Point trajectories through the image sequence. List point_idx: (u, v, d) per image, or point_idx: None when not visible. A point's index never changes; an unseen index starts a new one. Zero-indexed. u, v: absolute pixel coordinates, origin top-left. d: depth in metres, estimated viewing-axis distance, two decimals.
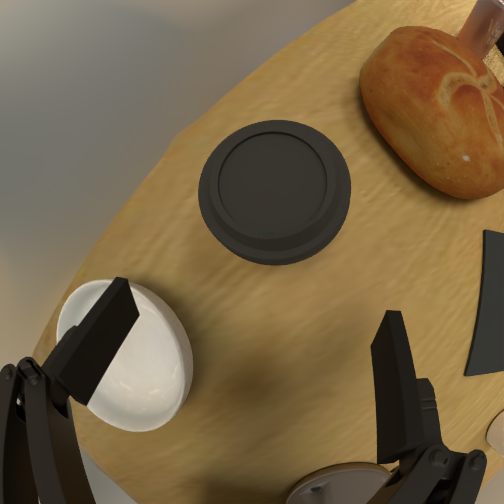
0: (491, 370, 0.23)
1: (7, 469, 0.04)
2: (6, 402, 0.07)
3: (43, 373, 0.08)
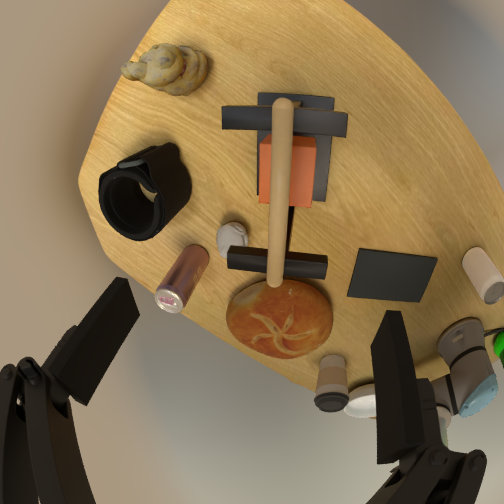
0: (425, 286, 0.52)
1: (7, 469, 0.04)
2: (6, 402, 0.07)
3: (43, 373, 0.08)
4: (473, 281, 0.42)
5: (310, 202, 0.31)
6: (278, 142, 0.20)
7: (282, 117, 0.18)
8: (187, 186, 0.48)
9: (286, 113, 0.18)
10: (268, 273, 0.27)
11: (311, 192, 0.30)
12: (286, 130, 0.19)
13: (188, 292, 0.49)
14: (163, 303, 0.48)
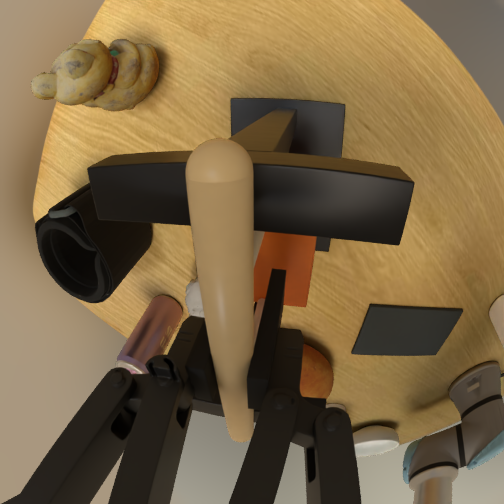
0: (444, 339, 0.40)
1: (69, 481, 0.05)
2: (102, 414, 0.07)
3: (180, 379, 0.09)
4: (501, 338, 0.29)
5: (304, 299, 0.18)
6: (211, 280, 0.07)
7: (212, 211, 0.06)
8: (144, 230, 0.36)
9: (224, 198, 0.06)
10: (229, 431, 0.14)
11: (307, 286, 0.18)
12: (229, 248, 0.07)
13: None
14: None
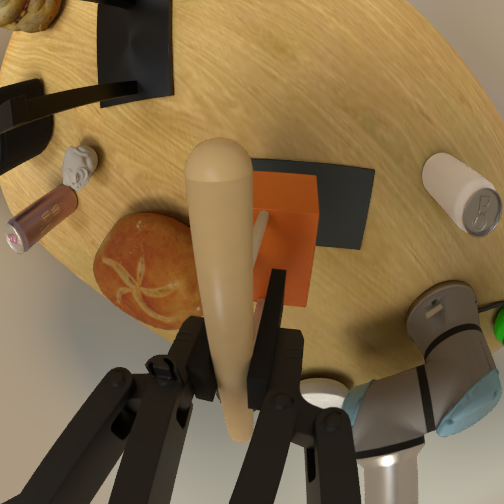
0: (363, 219, 0.36)
1: (69, 480, 0.05)
2: (102, 414, 0.07)
3: (180, 379, 0.09)
4: (441, 199, 0.26)
5: (304, 299, 0.18)
6: (210, 279, 0.07)
7: (212, 211, 0.06)
8: None
9: (224, 197, 0.06)
10: (228, 431, 0.14)
11: (307, 286, 0.18)
12: (228, 248, 0.07)
13: (31, 229, 0.32)
14: (12, 242, 0.32)
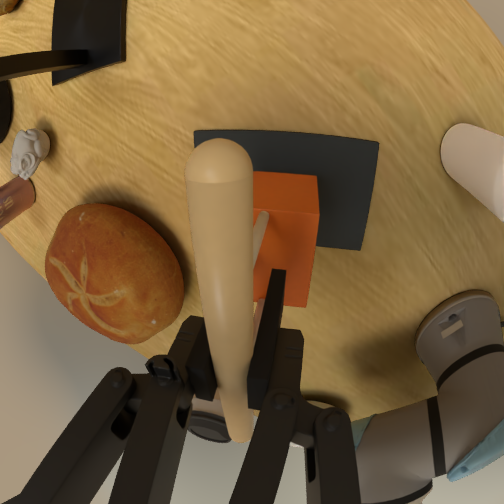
0: (365, 210, 0.27)
1: (69, 481, 0.05)
2: (103, 414, 0.07)
3: (180, 379, 0.09)
4: (471, 178, 0.16)
5: (304, 300, 0.18)
6: (210, 280, 0.07)
7: (212, 212, 0.06)
8: (2, 101, 0.23)
9: (224, 198, 0.06)
10: (229, 432, 0.14)
11: (307, 286, 0.18)
12: (228, 249, 0.07)
13: None
14: None
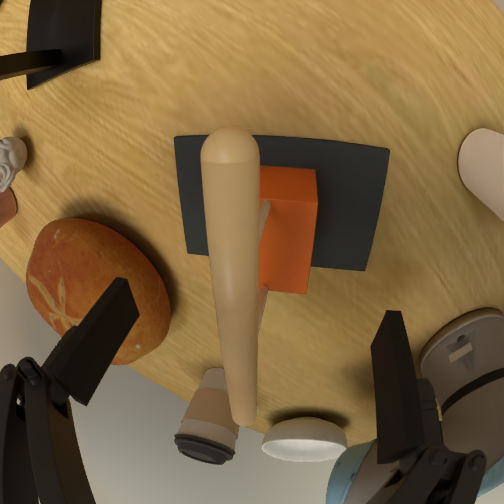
0: (372, 227, 0.23)
1: (7, 469, 0.04)
2: (6, 402, 0.07)
3: (43, 373, 0.08)
4: (497, 196, 0.13)
5: (304, 286, 0.19)
6: (221, 252, 0.08)
7: (224, 188, 0.07)
8: None
9: (235, 176, 0.07)
10: (232, 414, 0.15)
11: (307, 273, 0.19)
12: (238, 221, 0.08)
13: None
14: None
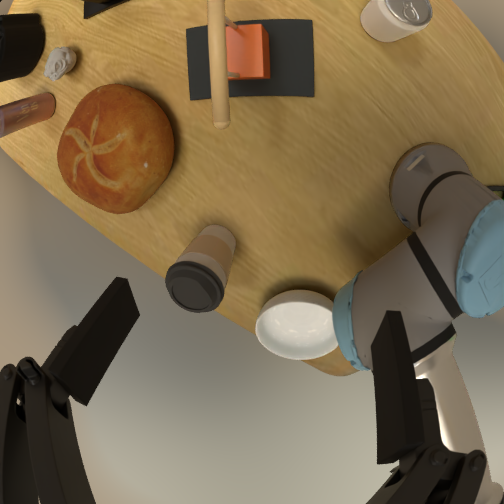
0: (310, 64, 0.31)
1: (7, 469, 0.04)
2: (6, 402, 0.07)
3: (43, 373, 0.08)
4: (372, 16, 0.21)
5: (261, 71, 0.27)
6: None
7: None
8: (38, 36, 0.28)
9: None
10: (213, 111, 0.23)
11: (261, 61, 0.26)
12: None
13: (9, 113, 0.28)
14: None
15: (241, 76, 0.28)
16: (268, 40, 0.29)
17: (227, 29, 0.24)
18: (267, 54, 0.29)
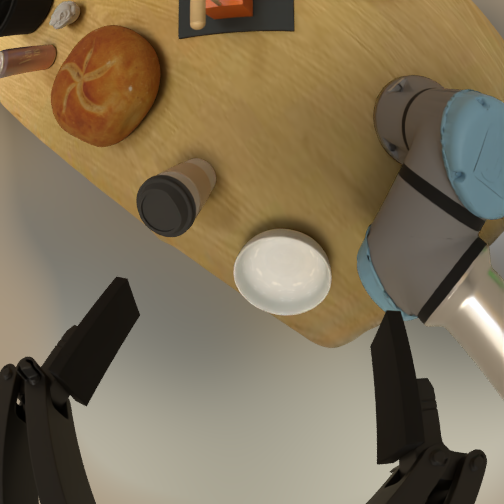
0: (290, 3, 0.28)
1: (7, 469, 0.04)
2: (6, 402, 0.07)
3: (43, 373, 0.08)
4: None
5: (241, 0, 0.24)
6: None
7: None
8: None
9: None
10: (190, 14, 0.20)
11: None
12: None
13: (13, 55, 0.24)
14: None
15: (222, 5, 0.24)
16: None
17: None
18: None
